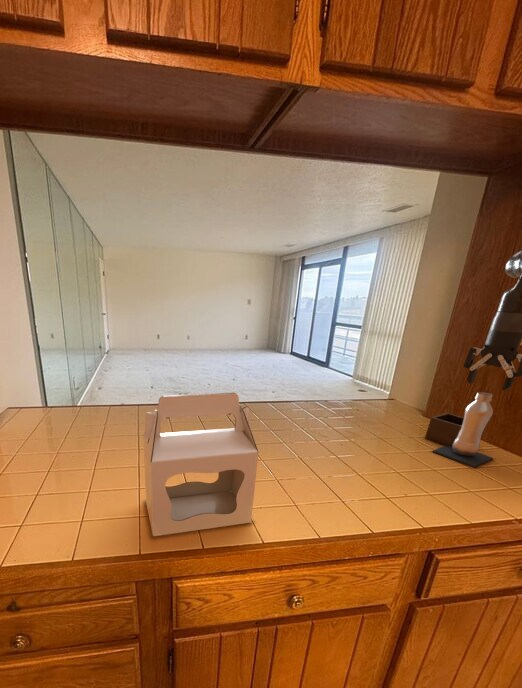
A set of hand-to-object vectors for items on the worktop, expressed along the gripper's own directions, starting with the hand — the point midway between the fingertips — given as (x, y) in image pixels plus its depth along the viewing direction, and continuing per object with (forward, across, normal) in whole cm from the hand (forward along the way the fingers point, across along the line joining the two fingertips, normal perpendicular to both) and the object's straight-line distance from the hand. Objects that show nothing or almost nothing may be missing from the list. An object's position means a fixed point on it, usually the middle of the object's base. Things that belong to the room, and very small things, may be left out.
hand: (487, 386), depth 102 cm
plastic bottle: (+22, 0, 0) cm, 23 cm away
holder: (+23, +9, -9) cm, 26 cm away
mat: (+23, 0, 0) cm, 23 cm away
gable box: (+23, +14, +91) cm, 94 cm away
